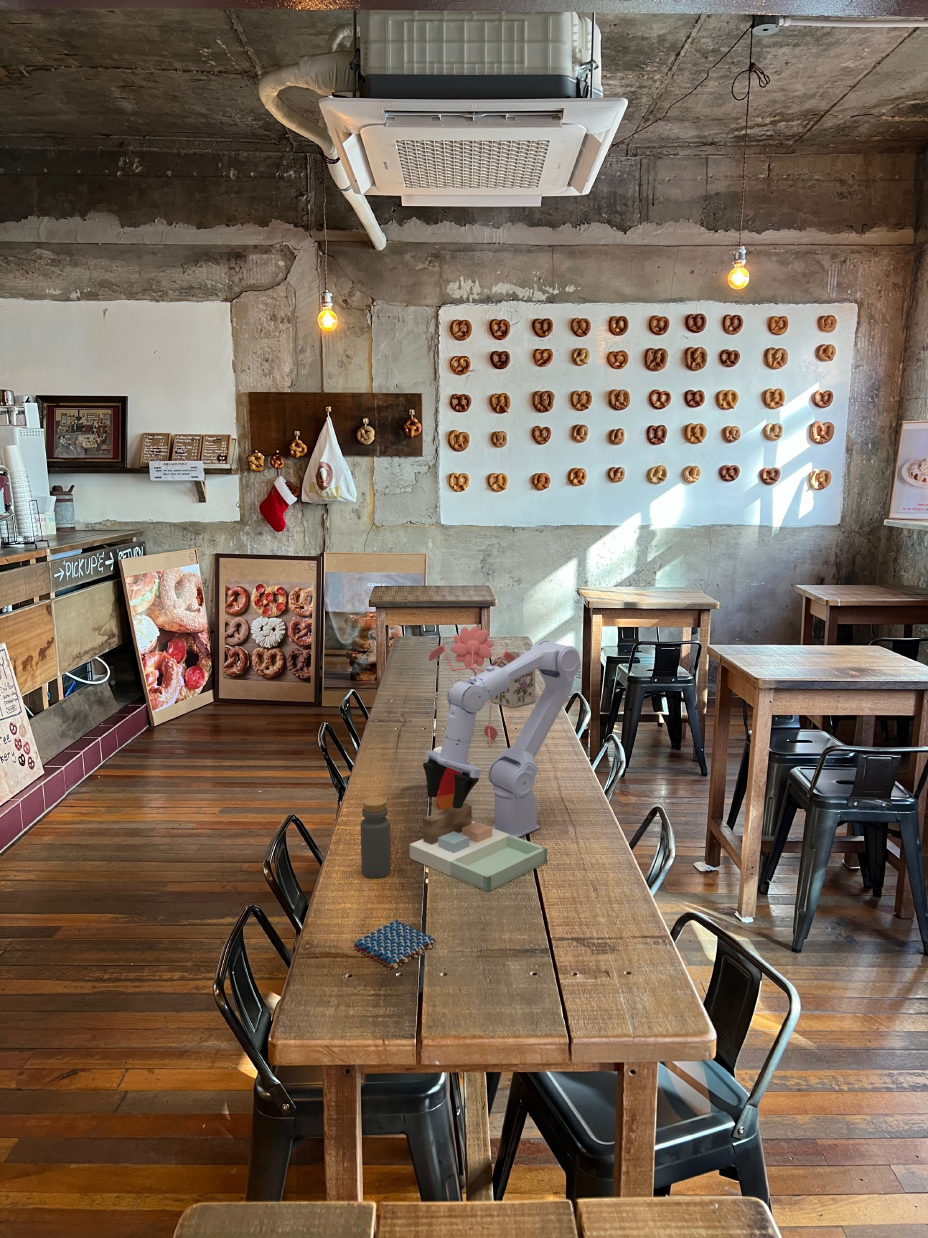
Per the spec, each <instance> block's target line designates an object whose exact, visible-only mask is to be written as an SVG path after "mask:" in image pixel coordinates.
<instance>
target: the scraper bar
mask: <svg viewBox="0 0 928 1238" xmlns="http://www.w3.org/2000/svg"><path fill="white" fill-rule="evenodd" d="M472 807H473V806H472V805H471V804H467V803H465V802H464V803H463V806H462V808H453V807H452V808H449V809H447V810H442V811H439V812H437V813H434V814H432V815H429V816H425V817H423V819H422V832H423V834H422V836H423V837H422V839H423V841H424V842H426V843H429V844H431V845H432V844H435V843H437V842H438V838H439V837H441V836H443V835H446V834H448V833H451V832H453V831H454V832H457V833H461V832H462V828H463V827H465V826H468V825H470V824H472V821H473V820H472V819H473V817H472V815H473V814H472V813H473V810H472V809H473V808H472Z"/></svg>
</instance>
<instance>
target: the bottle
mask: <svg viewBox="0 0 928 1238" xmlns="http://www.w3.org/2000/svg"><path fill="white" fill-rule="evenodd" d="M362 805H363V808H362V810H361V815H362V817H363V819H362V820H361V821H360V857H361V874H362V876H364V877H365V878H368V879H380V878H385V877H387V876H389V875H390V874H391V872H392V859H391V858H392V855H391V853H392V852H391V821H390V820H389V818H387V817H386V816H387V815H388V814H389V813H388V812H389V810H388V807H386V806H387V799H386V798H385V797H381V796H370V797H367V798H364V799H363V801H362Z"/></svg>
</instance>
